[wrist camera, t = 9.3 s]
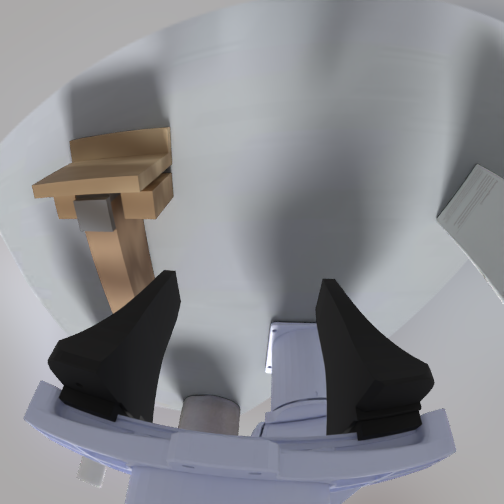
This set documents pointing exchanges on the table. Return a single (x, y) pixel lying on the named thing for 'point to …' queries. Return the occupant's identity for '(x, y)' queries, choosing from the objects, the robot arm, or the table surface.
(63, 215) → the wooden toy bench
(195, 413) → the pillar candle
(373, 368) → the robot arm
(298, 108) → the table surface
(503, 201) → the supplement box
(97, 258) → the brown wooden block
